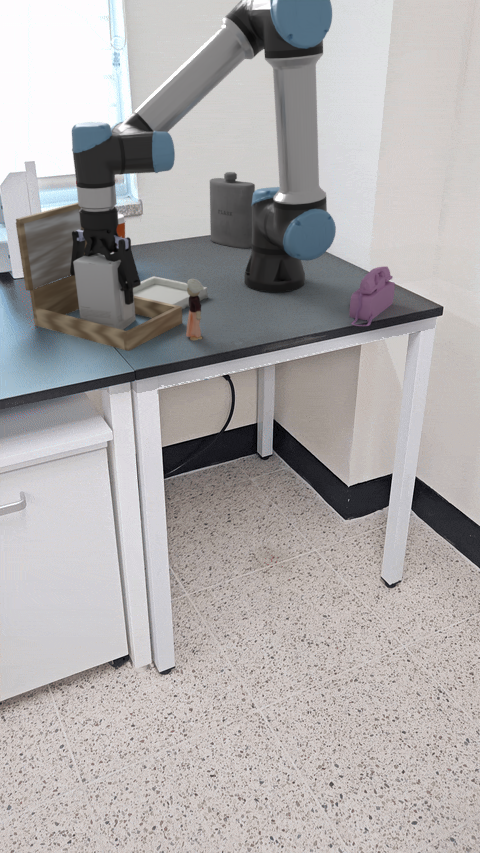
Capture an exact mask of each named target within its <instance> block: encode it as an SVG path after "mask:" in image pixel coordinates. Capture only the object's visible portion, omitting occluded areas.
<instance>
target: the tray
mask: <svg viewBox="0 0 480 853" xmlns="http://www.w3.org/2000/svg"><path fill="white" fill-rule="evenodd" d="M140 282H141V284H140V285H139V286H137V287H135V288H133V293H134V296H138V297H142V298H146V299H151V300H155V301H159V302H164V303H168V304H172V305H177V306H181V307H182V311H183V310H185V309H187V308H188V307H189V297H190V295H189V294H188V292H187V288H188V286H187V282H183V281H179V280H175V279H174V280H173V279H168V278H164V277H159V276H155V275H153V276H151V277H148V278H146V279H144V280H142V281H141V280H140ZM203 288H204V289H203V291H200V293H199V294H198V296H199V299H200V302H201V301H203V300H206V299H207V298H208V294H209V293H208V287H207V286H203Z"/></svg>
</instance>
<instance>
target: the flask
mask: <svg viewBox="0 0 480 853" xmlns="http://www.w3.org/2000/svg"><path fill="white" fill-rule="evenodd" d="M223 177H224V178H223ZM223 177H213V178H211V179H210V180H209V204H210V205H209V211H210V212H209V214H210V216H209V217H210V219H209V220H210V241H211V242H213V243H215V244H219V245H221V246H222V245H223V246H226V247H231V248H236V249H238V248H240V249H252V206H251V204H252V198H253V193H254V191H255V190H256V185H255V183H254V182H248V181H238V180H237V179H238V173H236V172H235V171H227V172H225V173H224V174H223Z"/></svg>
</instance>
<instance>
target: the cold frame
mask: <svg viewBox="0 0 480 853" xmlns="http://www.w3.org/2000/svg"><path fill="white" fill-rule="evenodd" d="M80 209H81V207H80V206H79V205H78V201H77V202H74V203H70V204H67V205H63V206H59V207H56V208H52V209H48V210H44V211H40V212H36V213H32V214H29V215H25V216H21V217H17V218H15V221H16V222H15V226H16V234H17V240H18V248H19V255H20V261H21V268H22V272H23V280H24V288H25V290H26V291H29V293H30V300H31V306H32V314H33V319H34V320H33V321H34V326H35V327H39V328H43V329H47V330H50V331H53V332H58V333H60V334H61V333H62V334H64V335H68V336H71V337H76V338H79V339H84V340H87V341H90V342H94V343H96V344H97V343H98V344H101V345H105V346H109V347H113V348H117V349H120V350H124V351H127V352H130V351H132V350H134V349H136V348H138V347H139V346H141V345H143V344H145V343H147V342H149V341H151V340H153V339H155V338H156V337H159V336H161V335H163V334H164V333H166V332H168V331H170V330H173V329H174V328H175V327H178V326H179V325H181V324H183V310H182V307H181V306H177V305H172V304H168V303H164V302H159V301H155V300H151V299H146V298H142V297H138V296H134V305H135V315H138V316H142V317H147V318H150V319H148V320H146V321H144V322H142V323H139V324H138V325H135V326H134V327H132V328H130V329H128V330H125V329H124V330H121V329H117V328H113V327H109V326H106V325H102V324H98V323H94V322H90V321H87V320H83V319H80V317H76V316H70V315H69V314H71V313H74V312H76V311H78V310H79V303H78V295H77V287H76V279H75V275H73V276H72V275H71V274H70V268H71V258H72V249H73V238H72V232H73V231H76V230H79V229H83V228H82V227H81V223H80V214H79V210H80ZM83 230H84V229H83ZM86 244H87V242H86V240H85V247H86ZM84 254H85V253H84Z"/></svg>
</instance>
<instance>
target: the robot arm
mask: <svg viewBox="0 0 480 853" xmlns="http://www.w3.org/2000/svg"><path fill="white" fill-rule="evenodd" d="M332 6H333V5H332V3H331V0H240V1H239V2H238V3H237V4H236V5H235V6H234V7H233V8H232V9H231V10H230V12H228V13H227V14H226V15H225V16H224V17H223V18H222V19H221V27H220V28H219V29H218V30H217V31H216V32H215V33H214V34H213V35H212V36H211V37H210V38H208V40H206V42H204V44H202V46H201V47H200V48H198V49H197V51H196V52H194V53H193V55H191V56H190V57H189V58H188V59H187V60H185V62H184V63H183V64H182V65H181V66H180V67H179V68H178V69H177V70H176V71H174V73H173V74H172V75H171V76H170V77H169V78H167V79H166V80H165V81H164V82H163V83H162V84H161V85H160V86H159V87H158V88H157V89H156V90H155V91H154V92H153V93H152V94H151V95H150V96H149V97H148V98H147V99H146V100H144V102H142V104H141V105H140V106H139V107H136V108H137V109H135V111H134V112H132V113H131V114H130V115H129V116H127V117H126V119H125V120H124V121H122V122H121V121H120V122H117V123H115V124H113V125H112V126H111V125H110V124H109V123H107V122H103V121H102V122H100V121H97V122H95V121H94V122H93V121H91V122H90V121H89V122H88V121H87V122H79V123H76V124H74V125H73V127H72V128H71V146H72V149H71V151H72V157H73V166H74V173H75V174H74V176H75V181H76V182H75V183H76V193H77V202H78V205H79V206H80V207H81V209H80V210H79V214H80V223H81V227H82V228H83V229H84V230H83V229H79V230H76V231H73V232H72V238H73V249H72V258H71V268H70V274H71V275H72V276H73V275H75V271H74V264H73V262H74V261H75V260H77V259H79V258H81V257H83V256H88V257H89V256H92V255H95V254H98V253H99V254H101V255H104V256H105V258H106V259H107V260H109V261H112V262H115V261H118V260H121V262H120V265H119V267H118V268H117V270H118V281H119V283H120V285H121V287H122V289H120V290H119V295H120V307H121V319H122V320H126V319H128V318H130V317H132V316H133V315H132V303H133V301H134V299H133V288H135V287H137V286H139V285H140V284H141V279H140V277H139V273H138V269H137V266H136V261H135V258H134V255H133V251H132V239H131V238H130V237H129V236H127V237H125V238H121V237H119V236H118V234H117V226H118V214H119V210H118V208H117V207H116V205H117V204H118V203H117V193H116V192H117V190H116V178H115V177H116V176H117V175H127V174H128V175H132V174H134V175H135V174H149V173H154V174H158V173H162V172H169V171H171V170H172V169H173V167H174V164H175V158H176V157H175V156H176V154H175V152H176V151H175V145H174V144H175V143H174V140H173V137H172V135H171V133H169V132H170V130H171V129H173V128H174V127H175V126H176V125H177V124H178V123H179V122H180V121H181V120H182V119H183V118H184V117H186V115H187V114H188V113H190V112H191V111H192V110H193V109H194V108H195V107H196V106H197V105H198V104H200V102H201V101H202V100H203V99H204V98H206V96H208V94H209V93H211V92H212V91H213V90H214V89H215V88H216V87H217V86H218V85H219V84H220V83H221V82H223V81H224V79H225V78H226V77H227V76H228V75H230V74H231V73H232V72H233V71H234V70H235V69H236V68H237V67H238V66H239V65H240V64H241V63H242V62H244V60H253V59H254V58H255V57H256V56H257V55H258V54H260V53H261V52H262V51H264V60H265V61H266V62H267V64H269V65H270V66H271V67H272V75H273V77H272V78H273V90H274V91H273V92H274V110H275V126H276V145H277V163H278V177H279V178H278V179H279V181H278V182H279V186H277V187H276V186H274V187H264V188H263V187H262V188H257V189H255V191H254V193H253V198H252V204H251V206H252V247H251V253H250V256H249V259H248V261H247V262H248V263H247V266H246V268H245V271H244V278H243V279H244V282H243V283H244V285H245V286H247V287H249V288H250V289H253V290H256V291H260V292H269V293H285V292H291V291H292V292H293V291H296V290H298V289H300V288H301V289H302V287H303V286H305V282H306V281H305V280H306V274H305V269H304V265H303V262H305V261H313V260H316V259H318V258H320V257H321V256H323V255H324V254H325V253H326V251H328V250H329V249H330V247H331V246H332V245H333V242H334V240H335V236H336V232H337V231H336V229H337V228H336V222H335V220H334V218H333V216H332V215H331V214H330V213H329V212H328V208H327V192H326V191H324V190H323V189H322V187H320V175H319V170H320V169H319V168H320V166H319V138H318V137H319V135H318V134H319V133H318V132H319V130H318V104H317V103H318V100H317V97H318V96H317V63H318V62H319V60H320V59H321V58H322V57H323V55H324V40H325V38H326V36H327V34H328V32H329V31H330V28H331V26H332V20H333V7H332ZM85 240H86V242H87V244H86V247H85ZM113 251H114V253H113V254H110V253H112V252H113ZM84 253H85V254H84ZM302 261H303V262H302ZM126 282H127V283H126Z"/></svg>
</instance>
